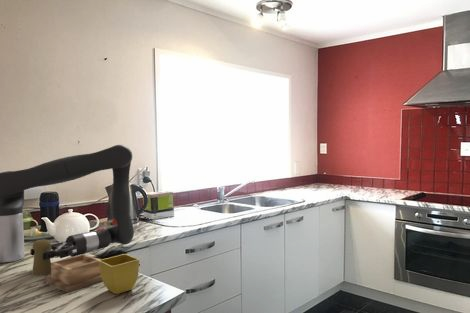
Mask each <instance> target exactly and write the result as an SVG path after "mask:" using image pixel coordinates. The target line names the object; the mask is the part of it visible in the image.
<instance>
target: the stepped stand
mask: <svg viewBox="0 0 470 313" xmlns="http://www.w3.org/2000/svg"><path fill="white" fill-rule="evenodd" d="M99 260H102V258H101V259H100V258H98V257H94V256H91V255H88V254H86V253H85V254H82V255H78V256H74V257H71V256H70V257H68V258H63V259H60V260H56V261H52V262H51V273H50V275H49V276H45V277H43V283H44V284H47V285H50V286H52V287H53V288H56V289H58V290H61V291H62V292H64V293H68V294H69V293H70V292H73V291H76V290H79V289H82V288H85V287H89V286H91V285H93V284H97V283H100V282H103V281H102V278H101V273H100V268H99V262H98V261H99Z"/></svg>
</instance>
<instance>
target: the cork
mask: <svg viewBox="0 0 470 313" xmlns="http://www.w3.org/2000/svg"><path fill="white" fill-rule="evenodd" d="M50 243H51V242H50V241H49V239H44V238H43V239H42V238H41V239H38V240H35V241H34V242H33V243H32V248H33V250H34V251H35V253H34V255H33V264H32V276H36V277H37V276H38V277H39V276H46V275H50V274H51V263H52V262H51V258H50V259H46V260H43V259H42V253H44V252H49V250H48V249H49V247H50Z"/></svg>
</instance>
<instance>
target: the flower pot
mask: <svg viewBox="0 0 470 313" xmlns="http://www.w3.org/2000/svg"><path fill="white" fill-rule="evenodd" d="M98 262H99V268H100V273H101V278H102V281H101V282H102V283H103V285H104V286H105V288H106V289H107V290H108V291H109V292H112V293H113V294H115V295H118V294H121V293H125V292H128V291H131V290H133V288H134V287H135V284H136V282H137V280H138V278H139V270H140V269H139V267H140V259H139V258H137V257H135V256H131V255H129V254H127V253H122V254H119V255H116V256H115V255H114V256H111V257H108V258H103V259H102V258H101V260H99V261H98Z"/></svg>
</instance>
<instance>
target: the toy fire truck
mask: <svg viewBox="0 0 470 313" xmlns="http://www.w3.org/2000/svg"><path fill="white" fill-rule="evenodd" d="M111 223H112V226H114V225H117V222H116V220H114V219H113V218H112V219H109V220H106V221H104V222H103V225H104V227H101V228H97V229H96V231H98V230H103V229H105V228H107V227H110V226H111Z"/></svg>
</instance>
